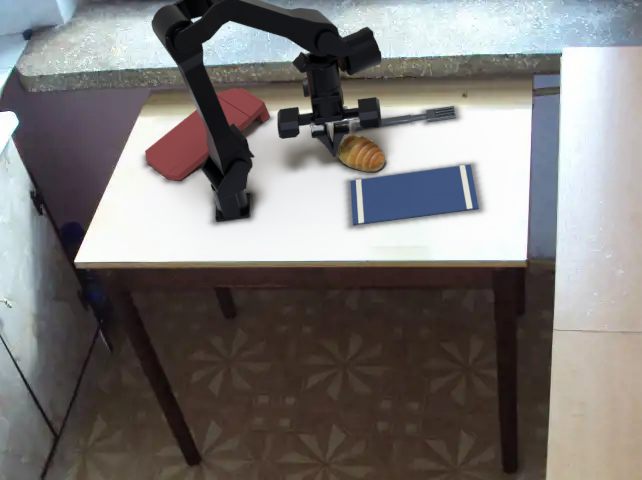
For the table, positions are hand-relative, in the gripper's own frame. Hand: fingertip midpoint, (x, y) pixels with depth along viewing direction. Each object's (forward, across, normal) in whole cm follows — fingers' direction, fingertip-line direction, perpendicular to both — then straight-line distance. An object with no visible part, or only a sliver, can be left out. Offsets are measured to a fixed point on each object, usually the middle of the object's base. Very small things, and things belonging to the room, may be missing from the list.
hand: (334, 155), depth 178 cm
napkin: (+1, -14, +12) cm, 19 cm away
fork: (+1, -14, -10) cm, 17 cm away
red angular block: (+2, +25, -13) cm, 28 cm away
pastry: (+2, -5, 0) cm, 5 cm away
